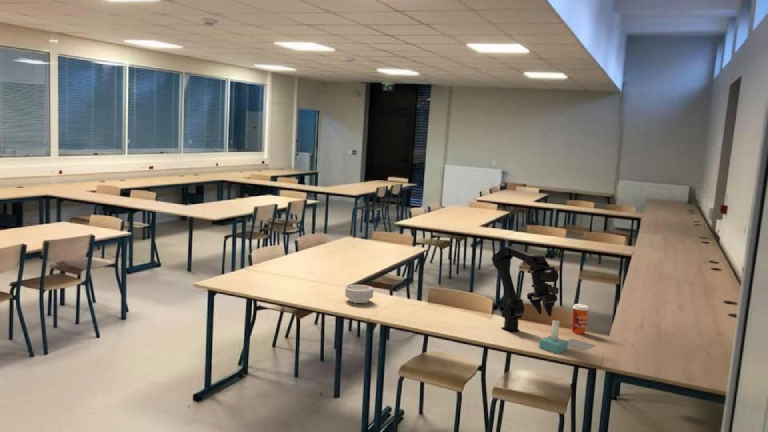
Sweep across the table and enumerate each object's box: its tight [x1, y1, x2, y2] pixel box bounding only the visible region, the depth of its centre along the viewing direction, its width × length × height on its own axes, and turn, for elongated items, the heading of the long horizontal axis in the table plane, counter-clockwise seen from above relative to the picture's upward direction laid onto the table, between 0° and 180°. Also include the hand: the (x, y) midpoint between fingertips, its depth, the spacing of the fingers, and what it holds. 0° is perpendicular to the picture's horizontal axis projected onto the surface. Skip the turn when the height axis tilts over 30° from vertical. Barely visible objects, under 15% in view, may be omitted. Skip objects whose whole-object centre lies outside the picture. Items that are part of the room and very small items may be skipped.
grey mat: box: [566, 338, 597, 351], centre depth 285 cm, size 12×12×1 cm
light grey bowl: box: [344, 284, 374, 304], centre depth 335 cm, size 15×15×8 cm
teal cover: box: [539, 319, 569, 355], centre depth 276 cm, size 9×9×13 cm
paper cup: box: [571, 303, 590, 336], centre depth 303 cm, size 8×8×14 cm
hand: (545, 315), depth 285 cm, fingers open, 9 cm apart
